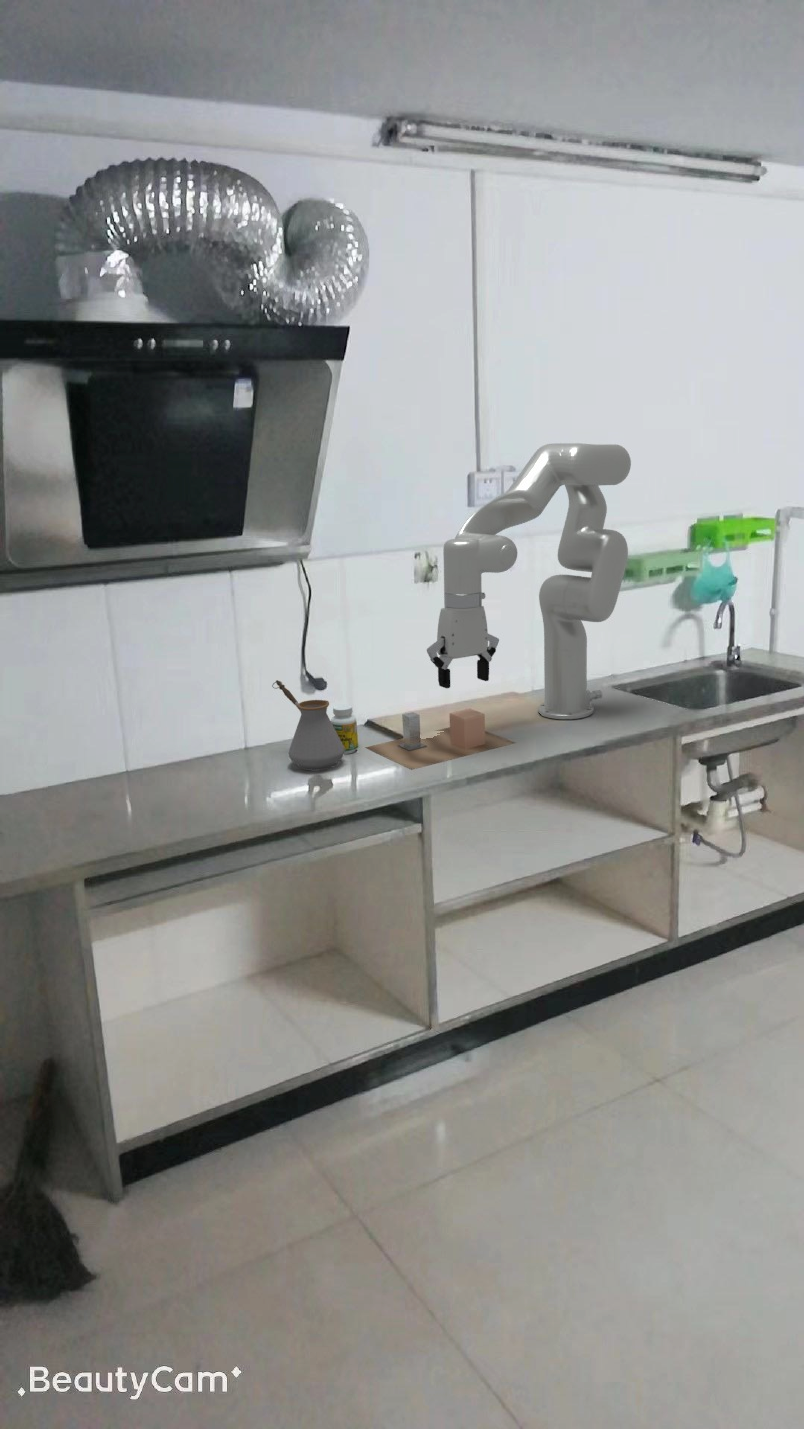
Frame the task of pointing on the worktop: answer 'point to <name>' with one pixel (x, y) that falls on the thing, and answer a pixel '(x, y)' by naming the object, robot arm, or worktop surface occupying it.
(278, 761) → the worktop surface
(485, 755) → the worktop surface
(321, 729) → the coffee pot
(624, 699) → the worktop surface
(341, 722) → the supplement bottle
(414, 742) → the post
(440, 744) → the board
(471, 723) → the tan wooden brick
